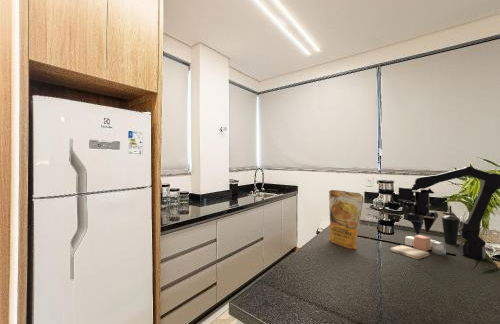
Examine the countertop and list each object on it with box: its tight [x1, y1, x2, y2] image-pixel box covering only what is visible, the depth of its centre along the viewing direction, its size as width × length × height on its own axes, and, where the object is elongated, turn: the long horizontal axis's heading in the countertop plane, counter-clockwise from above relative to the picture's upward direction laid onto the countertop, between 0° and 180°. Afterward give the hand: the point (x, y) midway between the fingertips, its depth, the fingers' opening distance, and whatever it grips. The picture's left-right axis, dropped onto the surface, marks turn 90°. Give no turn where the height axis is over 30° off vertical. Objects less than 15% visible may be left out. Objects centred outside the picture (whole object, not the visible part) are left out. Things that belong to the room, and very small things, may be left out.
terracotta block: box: [413, 234, 432, 252], centre depth 117 cm, size 5×5×6 cm
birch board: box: [389, 244, 430, 260], centre depth 111 cm, size 12×10×1 cm
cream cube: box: [404, 235, 414, 248], centre depth 122 cm, size 4×4×4 cm
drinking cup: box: [441, 205, 461, 245], centre depth 125 cm, size 8×8×20 cm
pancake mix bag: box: [328, 189, 364, 250], centre depth 123 cm, size 7×19×28 cm, turn 31°
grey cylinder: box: [431, 240, 447, 256], centre depth 111 cm, size 5×5×5 cm
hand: (422, 232), depth 117 cm, fingers open, 9 cm apart
